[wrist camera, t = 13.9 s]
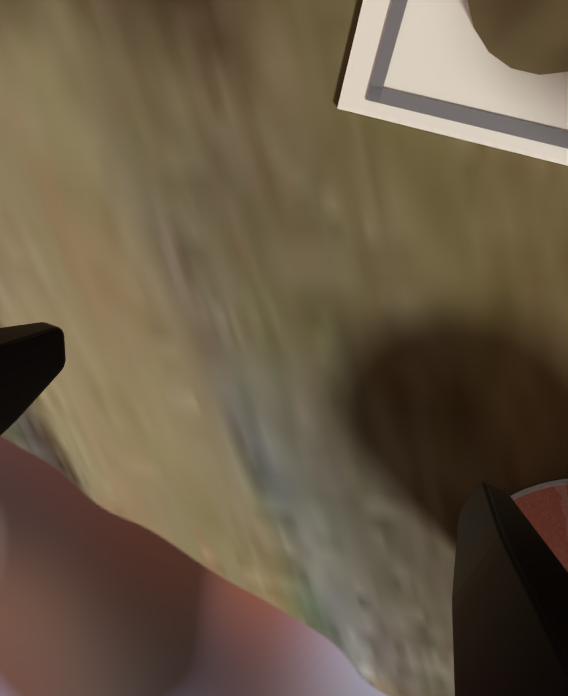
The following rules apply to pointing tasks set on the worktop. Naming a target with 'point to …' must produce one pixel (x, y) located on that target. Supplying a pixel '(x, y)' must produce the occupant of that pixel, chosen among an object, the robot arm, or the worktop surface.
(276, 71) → the worktop surface
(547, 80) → the marked card
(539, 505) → the canned food
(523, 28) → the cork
